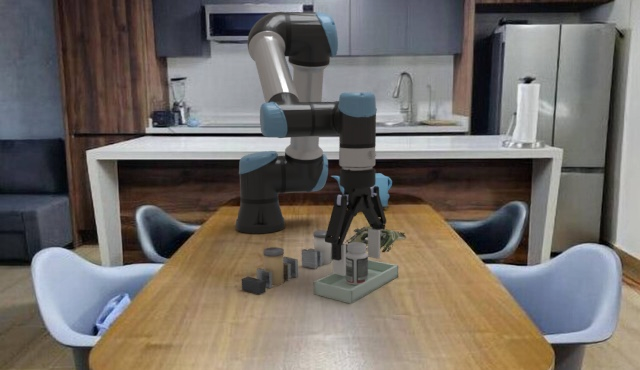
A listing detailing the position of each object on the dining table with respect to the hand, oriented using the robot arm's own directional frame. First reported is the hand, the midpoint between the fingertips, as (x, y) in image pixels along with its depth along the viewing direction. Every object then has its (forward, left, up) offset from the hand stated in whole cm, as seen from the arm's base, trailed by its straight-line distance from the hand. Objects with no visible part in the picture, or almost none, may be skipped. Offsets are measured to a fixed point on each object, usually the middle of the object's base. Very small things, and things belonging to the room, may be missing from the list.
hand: (357, 265), depth 115 cm
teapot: (-41, +66, -4) cm, 78 cm away
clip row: (-16, 0, -4) cm, 16 cm away
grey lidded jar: (-16, +9, -4) cm, 19 cm away
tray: (0, 0, -4) cm, 4 cm away
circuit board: (-16, +33, -5) cm, 37 cm away
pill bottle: (0, 0, -4) cm, 4 cm away
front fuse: (-16, -9, -4) cm, 19 cm away
